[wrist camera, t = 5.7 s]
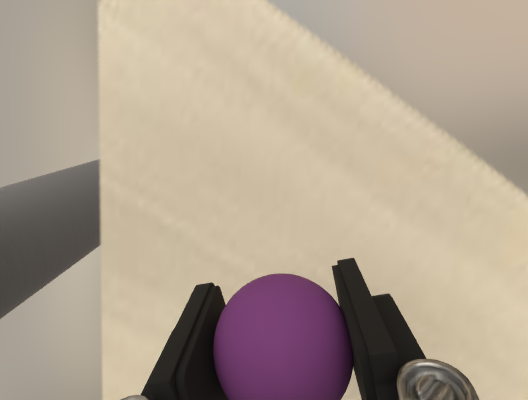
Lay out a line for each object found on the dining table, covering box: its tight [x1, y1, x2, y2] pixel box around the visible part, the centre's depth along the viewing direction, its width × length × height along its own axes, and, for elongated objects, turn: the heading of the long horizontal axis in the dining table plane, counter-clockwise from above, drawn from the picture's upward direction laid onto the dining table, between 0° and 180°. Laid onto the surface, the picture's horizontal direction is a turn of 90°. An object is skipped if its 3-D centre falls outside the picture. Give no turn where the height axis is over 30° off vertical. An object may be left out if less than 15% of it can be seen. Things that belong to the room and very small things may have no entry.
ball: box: [213, 274, 354, 400], centre depth 9 cm, size 4×4×4 cm
